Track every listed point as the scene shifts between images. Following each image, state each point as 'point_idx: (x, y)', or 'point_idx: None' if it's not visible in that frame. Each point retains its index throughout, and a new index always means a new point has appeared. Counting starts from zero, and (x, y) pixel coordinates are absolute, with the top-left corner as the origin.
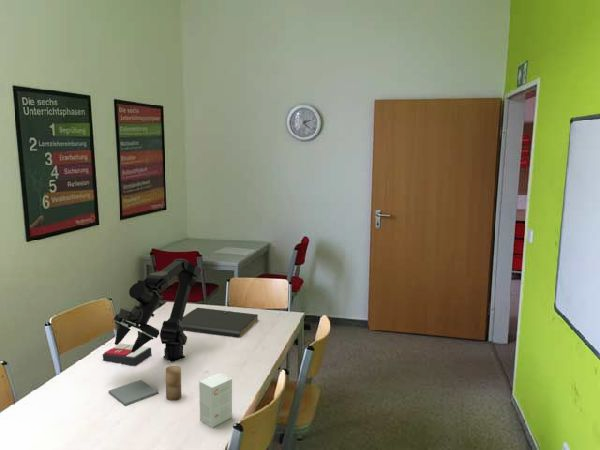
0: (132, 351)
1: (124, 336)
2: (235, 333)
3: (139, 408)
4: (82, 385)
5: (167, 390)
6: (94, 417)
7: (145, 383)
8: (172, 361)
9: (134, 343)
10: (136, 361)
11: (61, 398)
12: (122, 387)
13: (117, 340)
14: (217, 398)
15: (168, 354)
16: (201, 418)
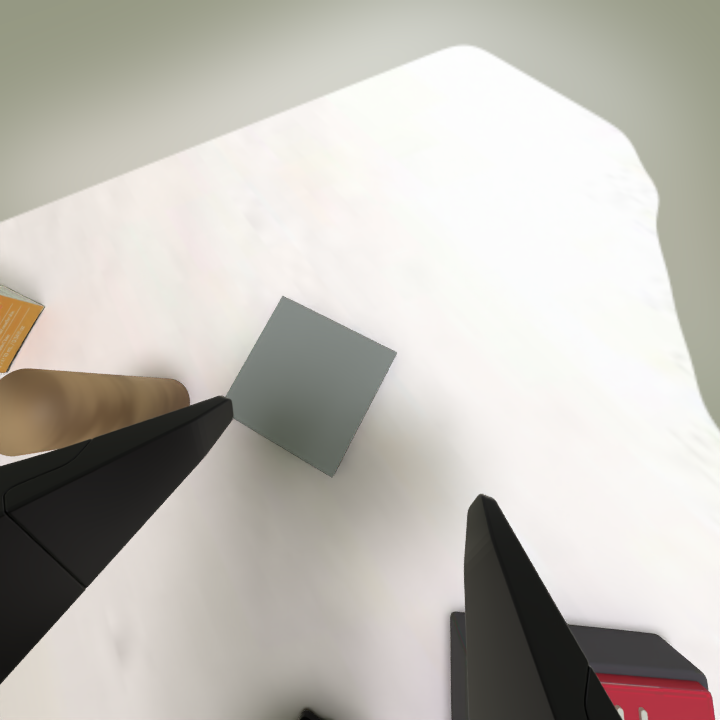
0: (217, 400)
1: (469, 700)
2: None
3: (235, 302)
4: (537, 370)
5: (145, 378)
6: (335, 214)
7: (296, 450)
8: (301, 715)
9: (145, 440)
10: (456, 645)
11: (530, 265)
12: (362, 391)
13: (486, 544)
14: None
15: None
16: (27, 300)
